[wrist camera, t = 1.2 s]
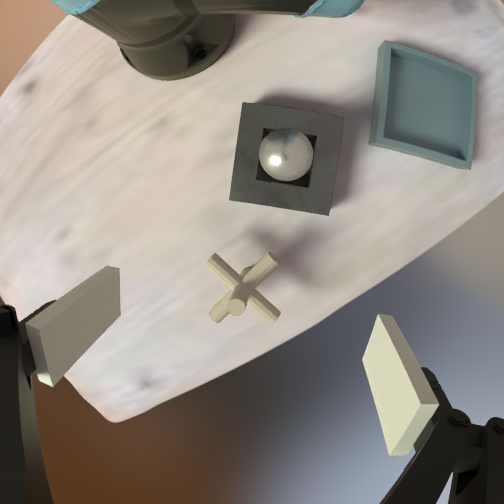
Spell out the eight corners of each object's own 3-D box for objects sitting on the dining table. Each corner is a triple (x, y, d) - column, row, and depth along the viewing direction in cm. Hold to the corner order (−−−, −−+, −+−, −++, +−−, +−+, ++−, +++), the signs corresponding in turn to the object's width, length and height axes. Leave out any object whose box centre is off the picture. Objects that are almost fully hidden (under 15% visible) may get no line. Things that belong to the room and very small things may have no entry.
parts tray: (378, 48, 32) (384, 39, 29) (465, 78, 31) (477, 73, 28) (368, 144, 36) (375, 142, 32) (458, 168, 35) (470, 169, 32)
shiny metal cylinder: (270, 137, 37) (262, 124, 25) (307, 143, 36) (316, 132, 25) (265, 173, 38) (255, 176, 26) (302, 179, 38) (308, 184, 26)
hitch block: (246, 107, 36) (242, 102, 33) (338, 121, 35) (343, 117, 32) (234, 197, 39) (229, 200, 36) (325, 211, 38) (328, 215, 35)
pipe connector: (245, 218, 39) (232, 235, 30) (304, 274, 40) (309, 307, 31) (194, 274, 42) (168, 305, 32) (250, 324, 43) (239, 366, 33)
